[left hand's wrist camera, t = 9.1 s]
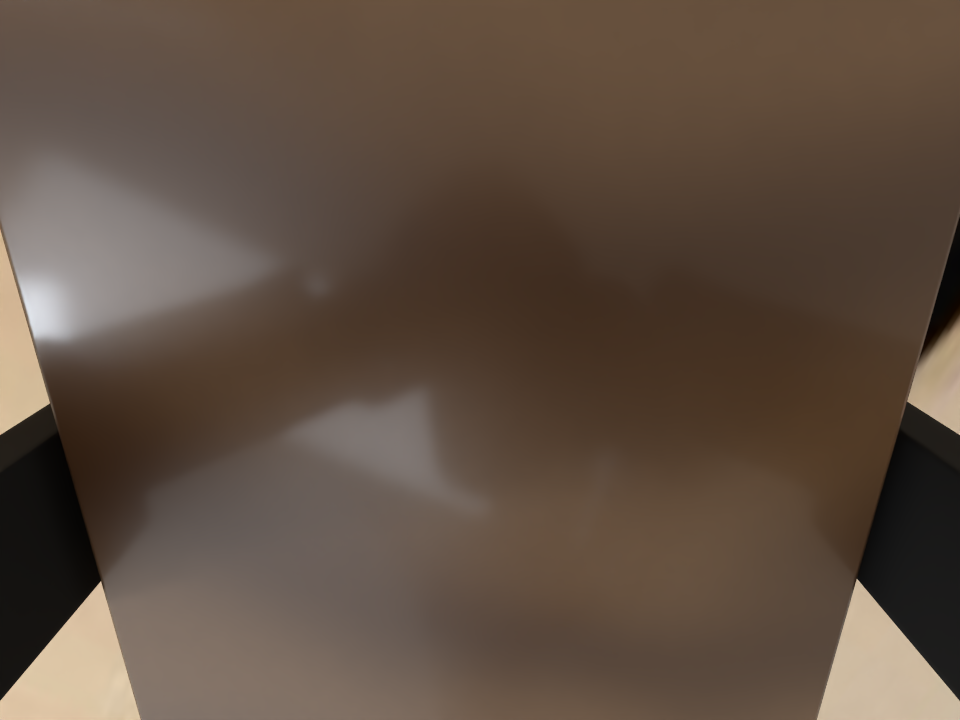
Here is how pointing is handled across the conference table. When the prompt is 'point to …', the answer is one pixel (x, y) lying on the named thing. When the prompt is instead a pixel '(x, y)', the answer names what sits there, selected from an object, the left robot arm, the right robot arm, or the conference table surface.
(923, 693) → the conference table surface
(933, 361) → the conference table surface
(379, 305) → the cabinet
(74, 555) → the left robot arm
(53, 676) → the conference table surface
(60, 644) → the conference table surface
